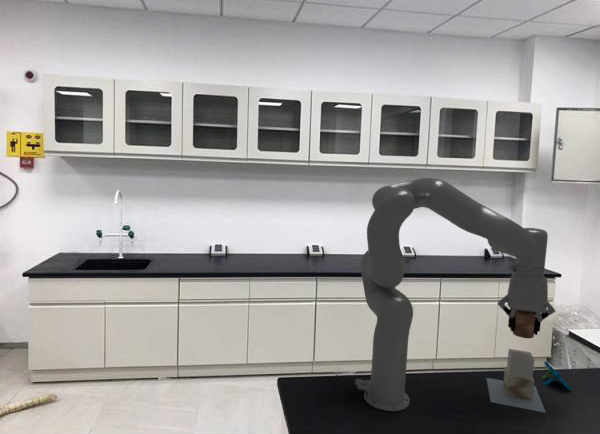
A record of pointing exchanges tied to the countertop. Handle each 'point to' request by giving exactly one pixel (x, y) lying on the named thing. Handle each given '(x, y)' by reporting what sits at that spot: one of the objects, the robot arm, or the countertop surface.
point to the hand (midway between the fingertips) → (523, 331)
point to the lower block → (518, 387)
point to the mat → (499, 397)
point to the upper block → (520, 364)
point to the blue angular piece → (554, 376)
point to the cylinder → (524, 324)
